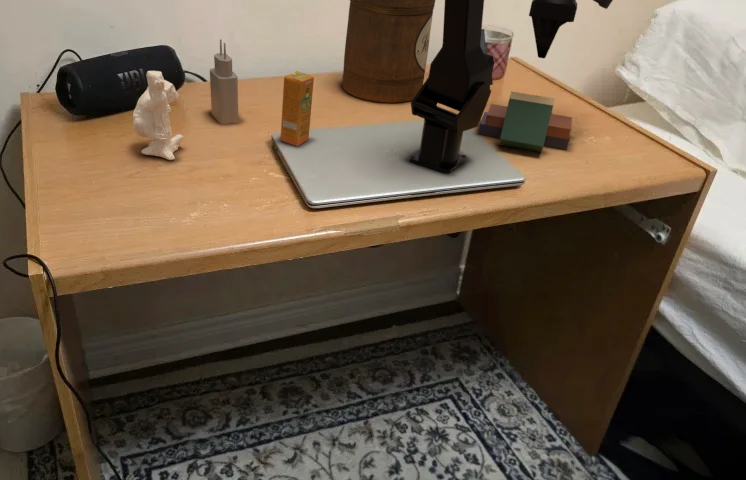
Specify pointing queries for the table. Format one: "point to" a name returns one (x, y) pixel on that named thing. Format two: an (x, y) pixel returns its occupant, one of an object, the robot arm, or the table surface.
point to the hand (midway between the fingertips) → (542, 55)
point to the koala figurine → (157, 116)
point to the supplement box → (296, 108)
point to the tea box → (526, 121)
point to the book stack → (555, 133)
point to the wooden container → (387, 48)
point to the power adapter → (224, 89)
